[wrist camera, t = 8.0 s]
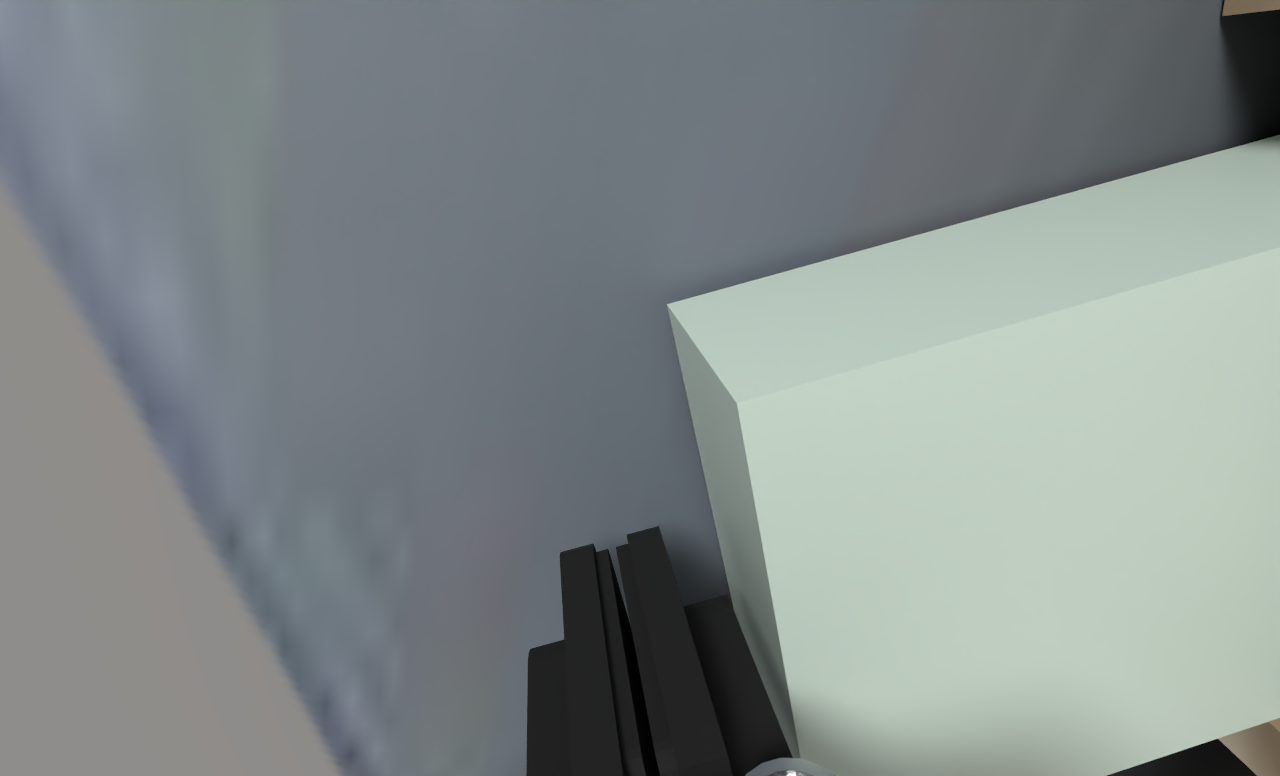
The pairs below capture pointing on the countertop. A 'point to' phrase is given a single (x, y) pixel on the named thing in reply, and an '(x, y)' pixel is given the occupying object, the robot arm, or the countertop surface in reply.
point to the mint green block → (1009, 479)
